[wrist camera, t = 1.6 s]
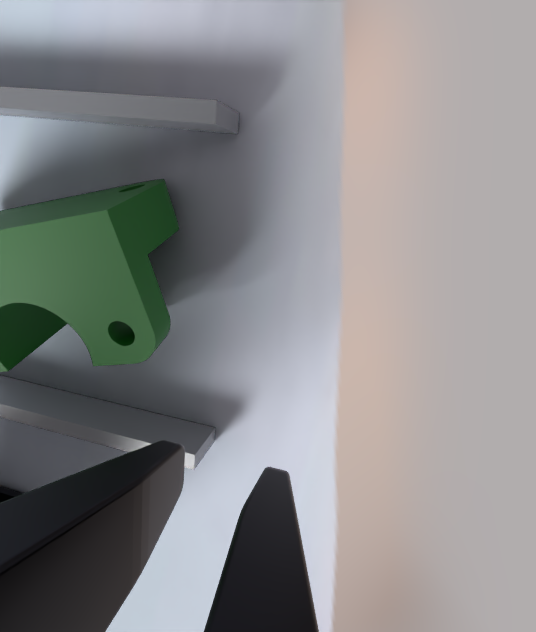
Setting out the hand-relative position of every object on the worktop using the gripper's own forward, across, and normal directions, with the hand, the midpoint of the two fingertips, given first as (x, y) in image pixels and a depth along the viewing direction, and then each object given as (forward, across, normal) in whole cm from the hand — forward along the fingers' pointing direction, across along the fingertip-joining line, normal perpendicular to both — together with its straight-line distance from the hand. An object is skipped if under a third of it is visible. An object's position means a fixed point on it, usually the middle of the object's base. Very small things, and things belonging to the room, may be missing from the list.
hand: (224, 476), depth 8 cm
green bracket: (+12, +12, 0) cm, 17 cm away
